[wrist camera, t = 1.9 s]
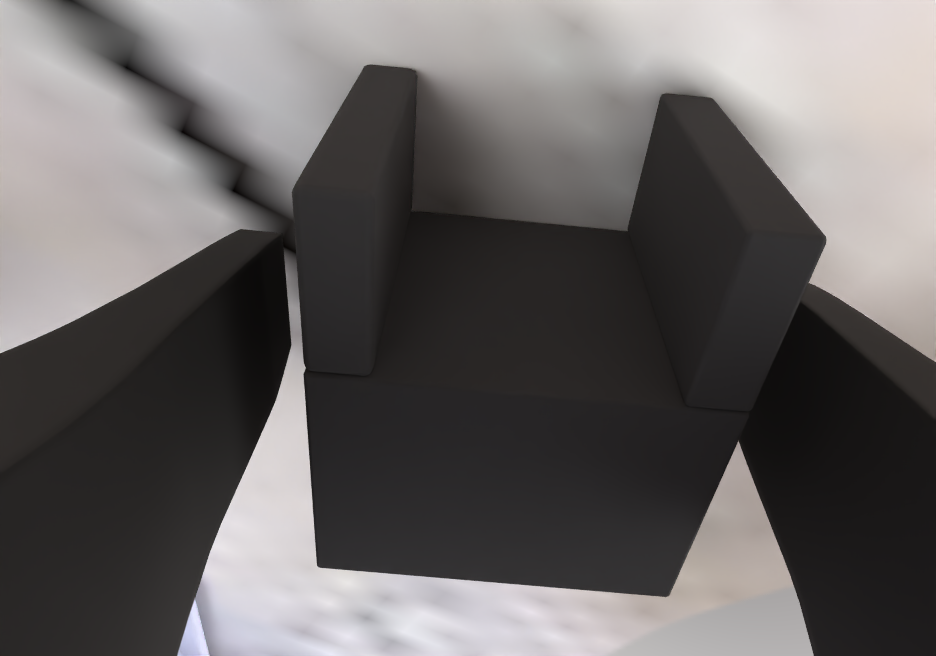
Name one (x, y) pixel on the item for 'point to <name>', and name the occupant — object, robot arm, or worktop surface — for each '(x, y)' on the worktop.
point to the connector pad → (534, 355)
